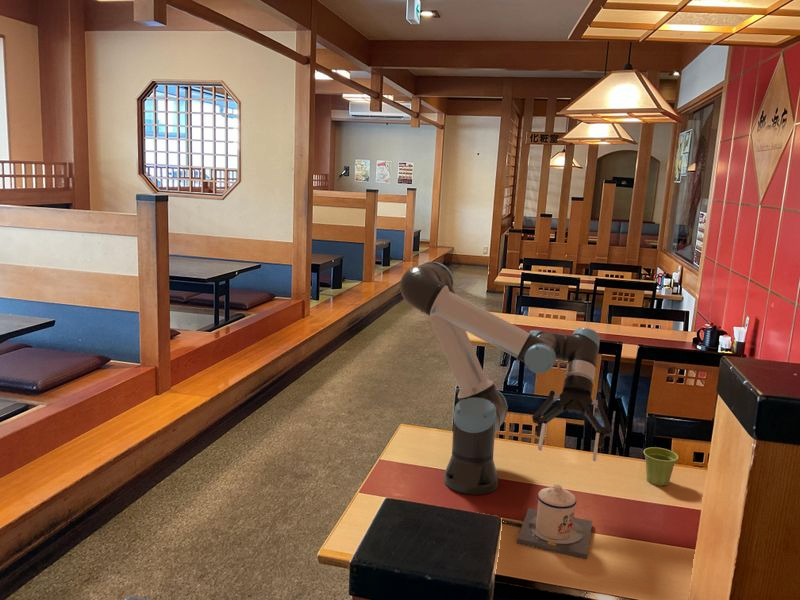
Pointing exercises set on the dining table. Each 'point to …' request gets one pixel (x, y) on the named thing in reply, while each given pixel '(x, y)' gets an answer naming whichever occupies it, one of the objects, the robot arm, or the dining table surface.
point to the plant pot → (659, 465)
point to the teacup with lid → (555, 513)
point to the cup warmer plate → (569, 546)
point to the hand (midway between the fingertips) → (566, 453)
